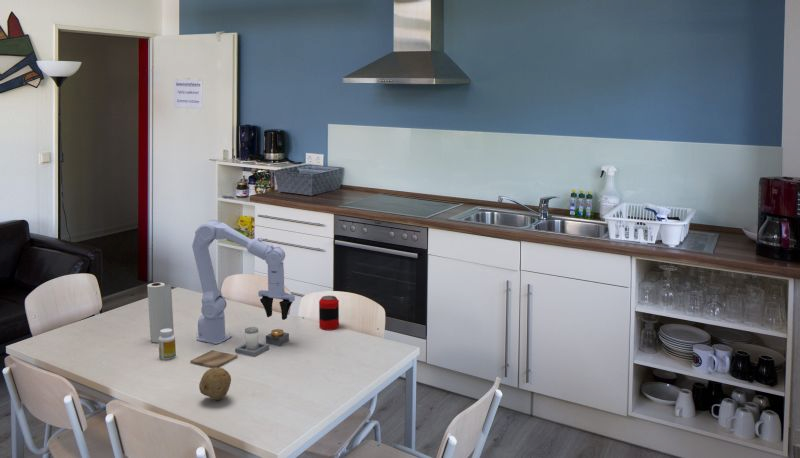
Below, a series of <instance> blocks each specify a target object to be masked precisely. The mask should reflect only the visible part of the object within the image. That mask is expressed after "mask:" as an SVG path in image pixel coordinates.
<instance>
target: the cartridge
mask: <svg viewBox="0 0 800 458" xmlns="http://www.w3.org/2000/svg"><path fill="white" fill-rule="evenodd" d="M244 337H245V339H244V340H245V343H246V350H251V351H255V350H257V349H259V348H258V343H259V328H258V327H256V326H250V327H245V328H244Z"/></svg>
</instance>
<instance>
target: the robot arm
mask: <svg viewBox="0 0 800 458" xmlns="http://www.w3.org/2000/svg"><path fill="white" fill-rule="evenodd" d="M194 233H195V235H194V238H193V242H192V244H191V246H192V252H193V256H194V261H195V264H196V267H197V272H198V277H199V281H200V285H201V289H202V297H201V316H200V317H199V318H198V321H197V336H198V337H197V338H196V340H197V341H200V342H204V343H205V342H206V343H209V344H214V345H218V344H221V343H222V342H223V341H227V340H228V339H231V335H226V320H225V319H226V315H225V310H226V307H227V299H226V298H224V296H223V294H222V291H221V290H220V289H219V288H218V283H217V279H216V274H215V271H214V267H213V262H212V258H211V254H210V250H209V247H210V246H211V244H212V243H213V242H214V241H216V240H217V241H218V240H222V239H223V240H224V239H226V240H229V241H232V242H234V243H236V244H239V245H240V246H242V247H244V248H246V249H247V252H248V253H249V254H251V255H253V256H256V257H257V258H259V259H261V260H263V261H265V263H266V264H267V290H265V289H264V290H263V289H261V290H259V291H258V297H260V301H259V302H260V303H261V304H262V306H263V308H264V312H265V315H266V317H267V318H270V317H272V316H273V302H274V299H276V300H281V301H279V303H278V304H279V306H280V312H281V320H282V321H284V320H286V319H288V315H289V311H290V309H291V308H290V307H291V306H292V305H293V302H294V301H295V300H296V296H295V295H294V294H291V293H288V292H285V269H284V267H285V265H284V260H285V258H286V253H285V251H284V249H283V248H281V247H280V246H274V245H273V244H271V245H270V244H269V243H266V242H264V241H263V239H262V238H261V237H259V238H257V237H255V238H249V237H248V236H246V235H244V234H242V233H241V232H239V231H238V230H236V229H234V228H232V227H230V225H229V226H228V224H226V223H224V222H221V221H220V220H219V219H218V220H217V219H211V220H209V221H208V222H205V223H203V224H201V225H200V226H199V227H198V228H197V229H196V230H195V231H194Z"/></svg>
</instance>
